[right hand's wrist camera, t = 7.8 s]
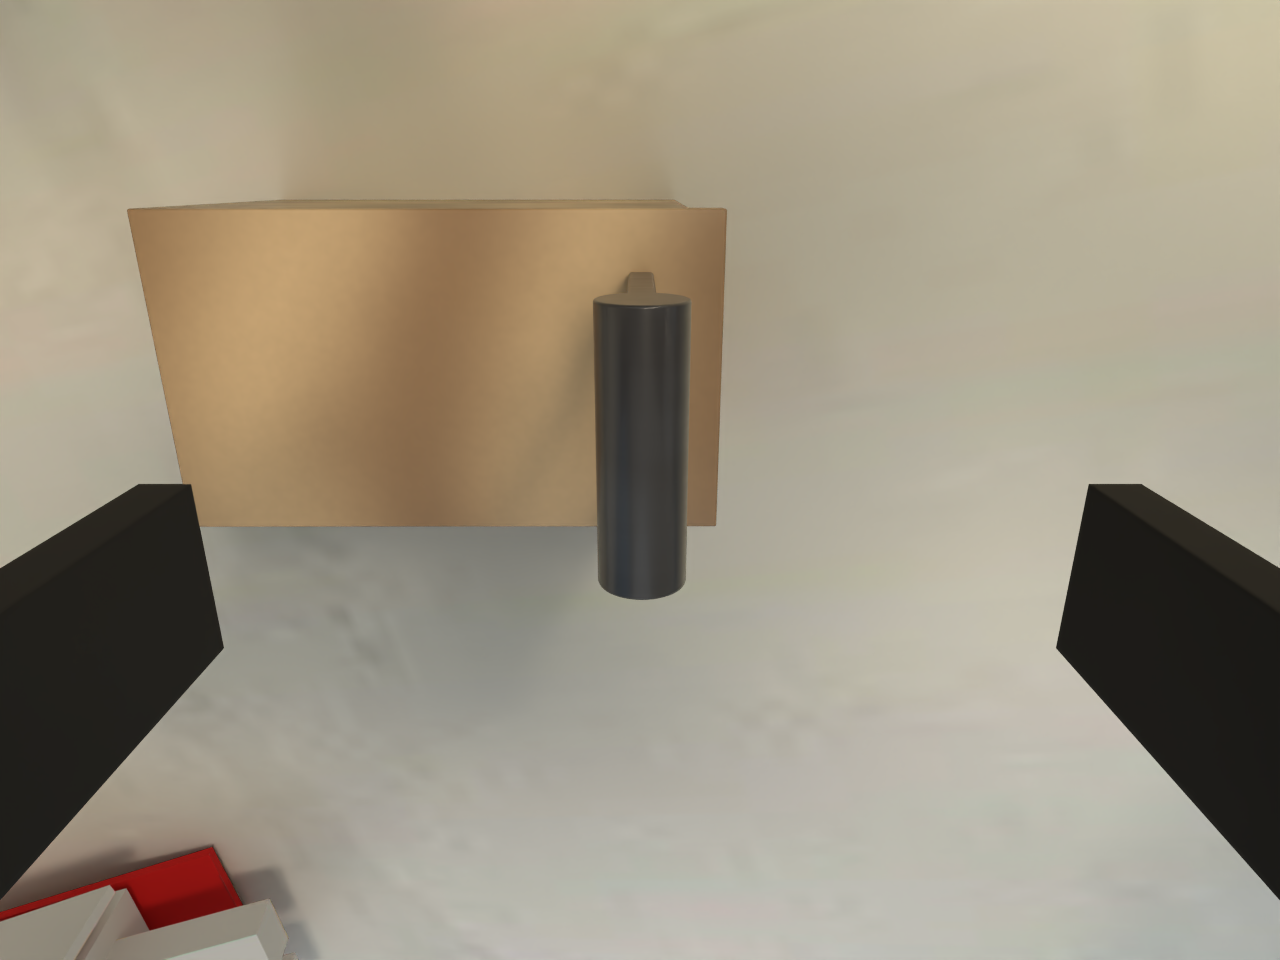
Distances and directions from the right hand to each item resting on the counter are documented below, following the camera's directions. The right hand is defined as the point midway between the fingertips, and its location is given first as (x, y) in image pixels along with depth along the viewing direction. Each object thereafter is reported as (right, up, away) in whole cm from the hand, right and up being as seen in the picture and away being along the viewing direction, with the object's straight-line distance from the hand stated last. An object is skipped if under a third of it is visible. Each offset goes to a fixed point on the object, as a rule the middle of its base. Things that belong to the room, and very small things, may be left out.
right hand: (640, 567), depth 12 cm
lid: (-6, +5, +13) cm, 15 cm away
